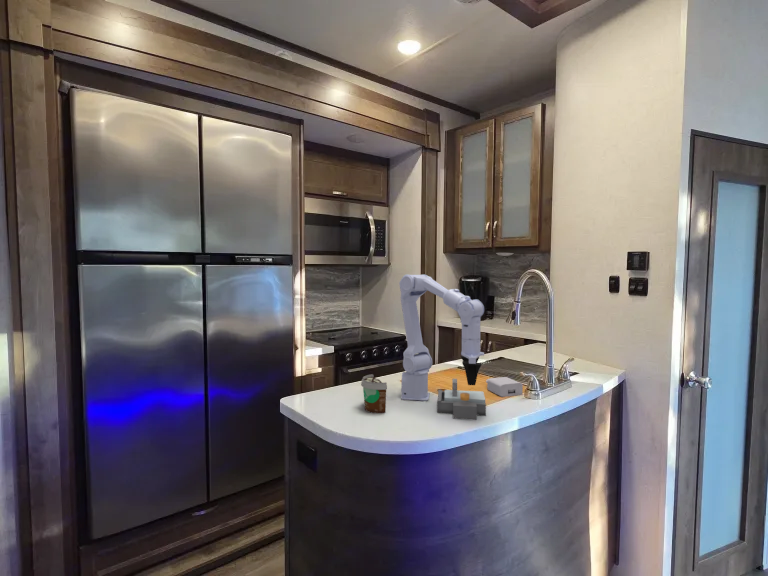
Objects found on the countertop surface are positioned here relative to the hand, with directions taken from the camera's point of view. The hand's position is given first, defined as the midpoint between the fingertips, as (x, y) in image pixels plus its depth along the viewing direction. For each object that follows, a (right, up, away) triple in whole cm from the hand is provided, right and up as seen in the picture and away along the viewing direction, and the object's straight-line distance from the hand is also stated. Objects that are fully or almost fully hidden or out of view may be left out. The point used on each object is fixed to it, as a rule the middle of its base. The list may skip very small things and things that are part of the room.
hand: (470, 381), depth 123 cm
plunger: (-2, -5, -2) cm, 6 cm away
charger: (+17, -10, +26) cm, 32 cm away
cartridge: (-1, -9, +6) cm, 11 cm away
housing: (-2, -10, +4) cm, 11 cm away
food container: (-32, -11, +5) cm, 34 cm away
